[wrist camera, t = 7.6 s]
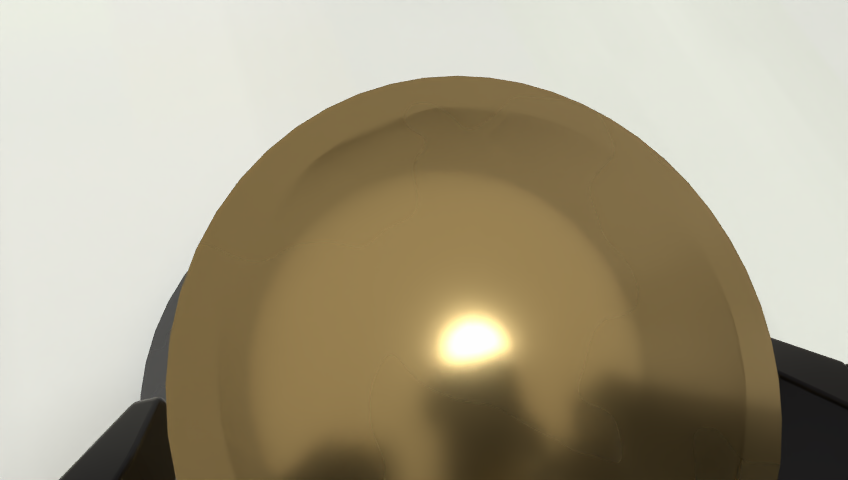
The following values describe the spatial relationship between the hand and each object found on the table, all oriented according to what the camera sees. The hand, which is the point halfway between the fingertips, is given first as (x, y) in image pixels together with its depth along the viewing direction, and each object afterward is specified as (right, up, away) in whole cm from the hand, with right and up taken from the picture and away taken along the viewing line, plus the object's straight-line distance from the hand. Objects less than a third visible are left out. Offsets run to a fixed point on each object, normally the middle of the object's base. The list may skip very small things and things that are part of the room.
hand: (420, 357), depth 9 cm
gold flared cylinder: (-1, -3, +8) cm, 8 cm away
